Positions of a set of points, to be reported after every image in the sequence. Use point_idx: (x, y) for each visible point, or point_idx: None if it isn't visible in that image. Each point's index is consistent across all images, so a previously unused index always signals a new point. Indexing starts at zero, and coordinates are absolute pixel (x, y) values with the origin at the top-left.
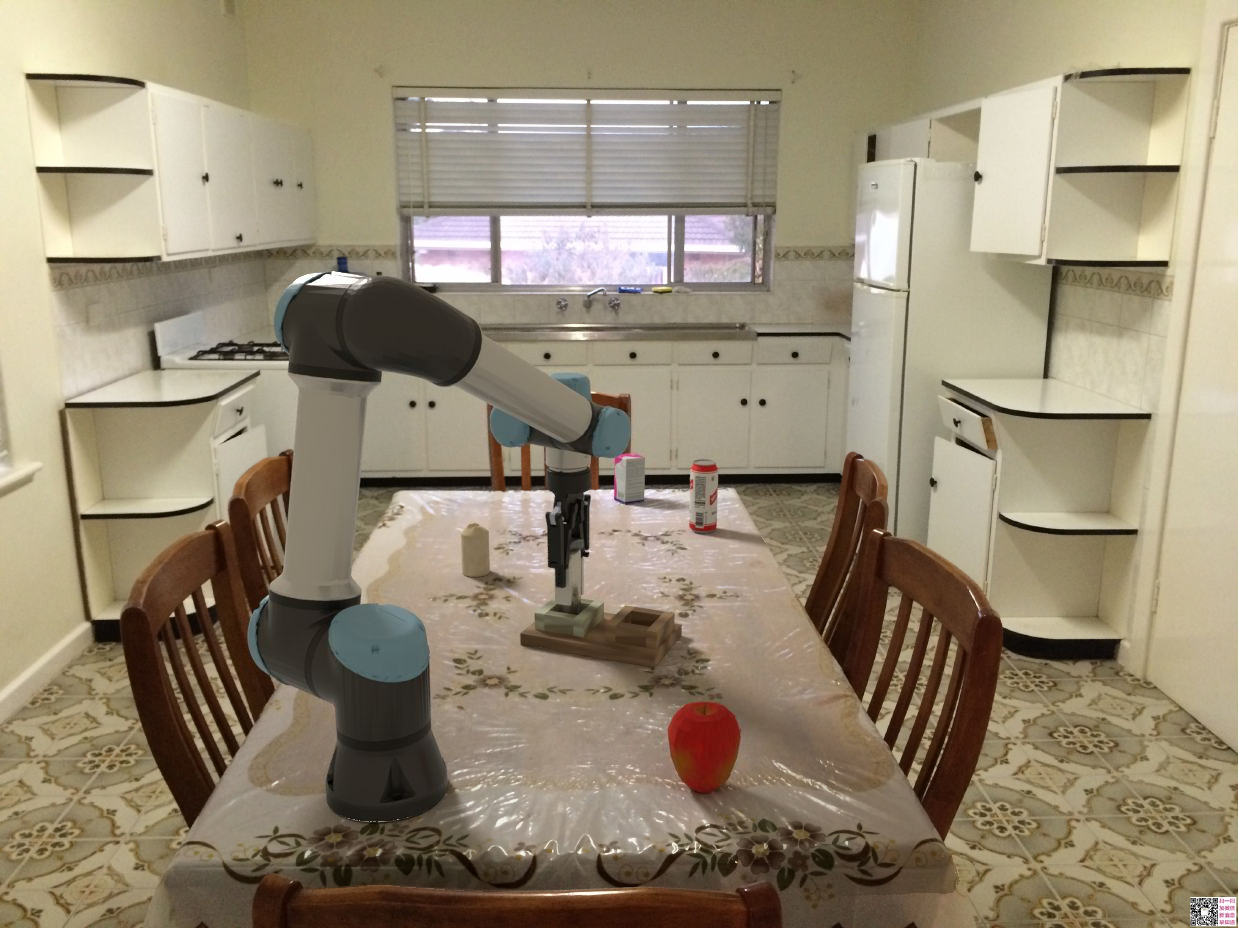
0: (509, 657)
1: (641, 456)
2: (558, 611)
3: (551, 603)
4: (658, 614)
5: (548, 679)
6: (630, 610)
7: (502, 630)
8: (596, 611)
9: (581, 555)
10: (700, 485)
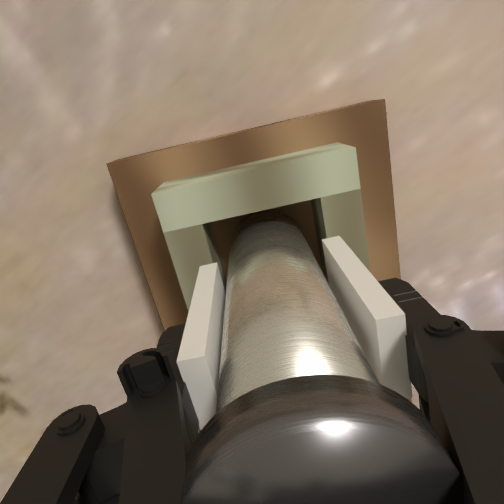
0: (31, 193)
1: None
2: (234, 241)
3: (265, 188)
4: None
5: (19, 349)
6: None
7: (161, 26)
8: None
9: (419, 396)
10: None
